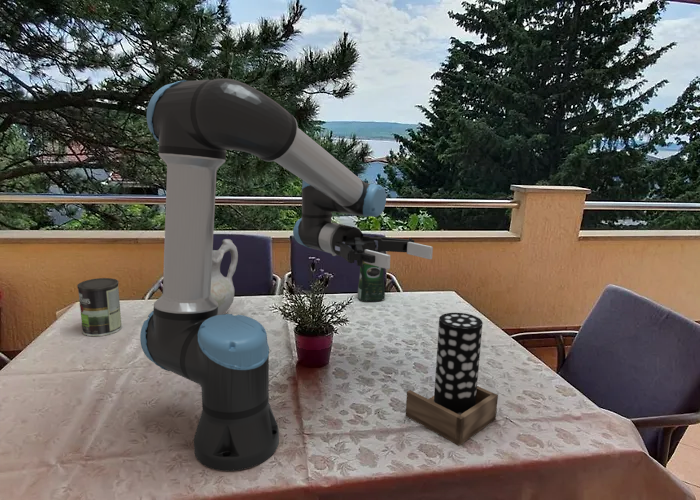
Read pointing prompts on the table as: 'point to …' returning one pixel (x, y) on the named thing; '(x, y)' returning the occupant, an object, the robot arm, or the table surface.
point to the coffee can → (99, 306)
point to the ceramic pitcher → (219, 284)
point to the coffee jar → (371, 282)
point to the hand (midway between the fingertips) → (411, 257)
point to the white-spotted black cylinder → (457, 361)
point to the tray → (453, 415)
